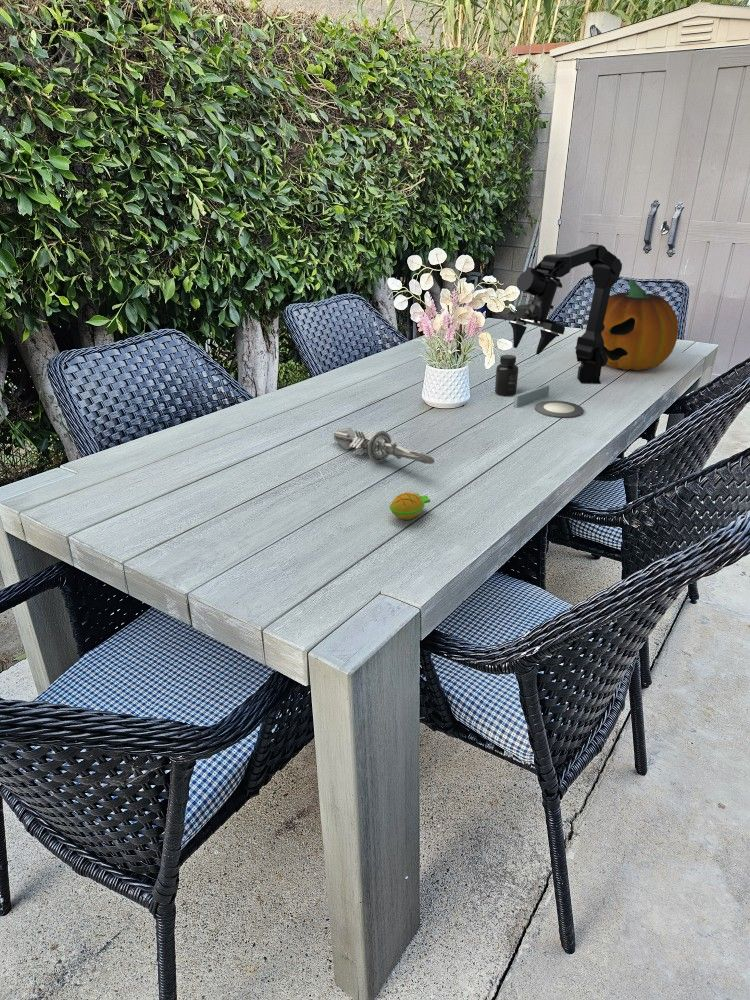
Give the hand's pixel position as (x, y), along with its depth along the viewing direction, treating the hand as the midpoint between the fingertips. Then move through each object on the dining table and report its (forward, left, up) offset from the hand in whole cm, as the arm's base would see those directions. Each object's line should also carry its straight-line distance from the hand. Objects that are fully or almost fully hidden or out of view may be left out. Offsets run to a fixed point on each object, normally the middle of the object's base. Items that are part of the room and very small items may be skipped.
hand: (525, 350), depth 206 cm
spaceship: (+42, +51, -15) cm, 68 cm away
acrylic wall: (-3, +3, -15) cm, 16 cm away
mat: (-10, +10, -15) cm, 21 cm away
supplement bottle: (+4, -5, -15) cm, 17 cm away
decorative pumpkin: (-44, -40, -15) cm, 62 cm away
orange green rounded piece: (+35, +79, -15) cm, 88 cm away
